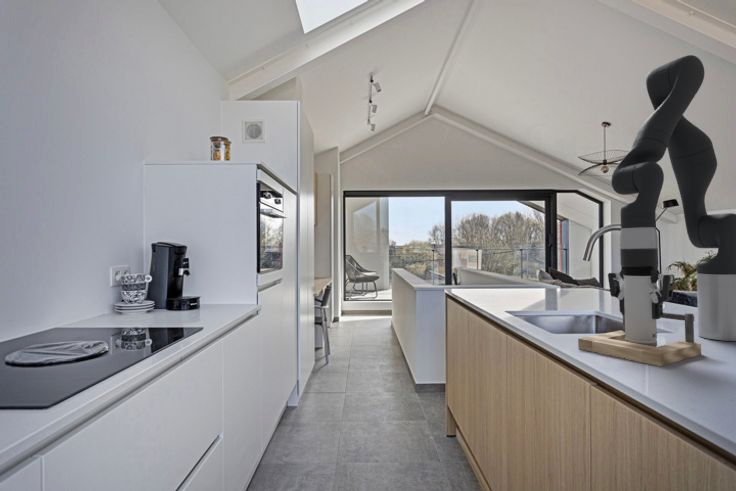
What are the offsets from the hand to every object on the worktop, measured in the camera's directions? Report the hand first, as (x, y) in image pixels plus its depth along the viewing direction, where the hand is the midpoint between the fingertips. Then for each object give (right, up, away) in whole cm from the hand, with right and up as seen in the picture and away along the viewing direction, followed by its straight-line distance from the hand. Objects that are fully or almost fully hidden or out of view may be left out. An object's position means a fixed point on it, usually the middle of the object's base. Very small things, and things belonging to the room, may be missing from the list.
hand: (640, 316), depth 97 cm
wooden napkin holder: (-1, -8, -1) cm, 8 cm away
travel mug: (0, -7, 0) cm, 7 cm away
